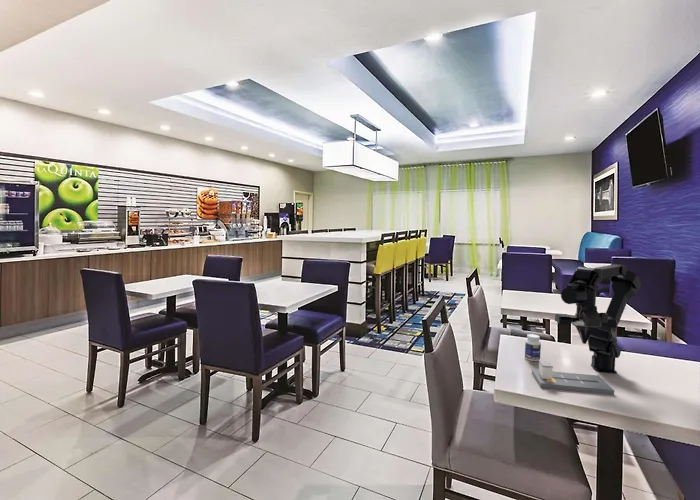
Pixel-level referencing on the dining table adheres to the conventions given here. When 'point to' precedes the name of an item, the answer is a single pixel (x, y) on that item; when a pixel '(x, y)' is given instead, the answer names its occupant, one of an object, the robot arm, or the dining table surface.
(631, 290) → the robot arm
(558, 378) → the mixing board
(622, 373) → the dining table surface
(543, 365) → the fader
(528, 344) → the pill bottle
